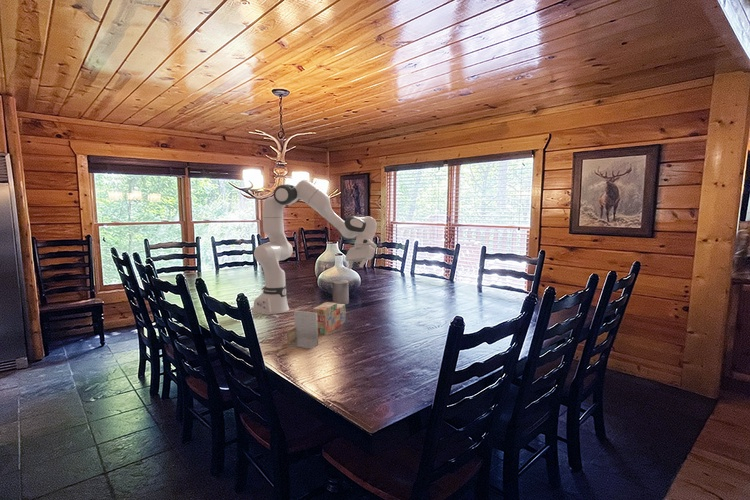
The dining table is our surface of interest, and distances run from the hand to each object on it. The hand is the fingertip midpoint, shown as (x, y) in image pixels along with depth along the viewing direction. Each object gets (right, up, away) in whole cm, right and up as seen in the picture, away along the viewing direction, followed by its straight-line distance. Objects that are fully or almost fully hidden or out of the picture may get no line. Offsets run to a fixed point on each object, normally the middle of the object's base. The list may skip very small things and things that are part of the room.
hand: (355, 267), depth 207 cm
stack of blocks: (-11, -29, -15) cm, 34 cm away
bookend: (-20, -31, -38) cm, 54 cm away
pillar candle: (-10, -23, +30) cm, 39 cm away
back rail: (-21, -29, -22) cm, 42 cm away
